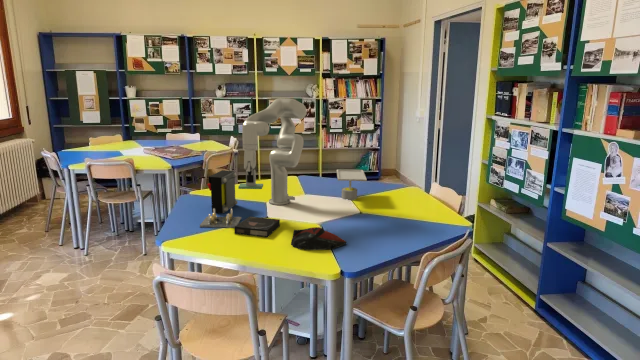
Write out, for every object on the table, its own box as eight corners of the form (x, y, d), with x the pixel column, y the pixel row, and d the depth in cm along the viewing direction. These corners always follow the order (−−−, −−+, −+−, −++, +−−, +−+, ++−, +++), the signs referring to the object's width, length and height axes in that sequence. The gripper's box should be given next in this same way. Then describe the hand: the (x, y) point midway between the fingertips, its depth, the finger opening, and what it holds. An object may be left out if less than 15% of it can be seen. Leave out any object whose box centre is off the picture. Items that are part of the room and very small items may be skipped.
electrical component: (226, 213, 235) (224, 177, 230) (208, 212, 237) (207, 176, 232) (238, 204, 252) (237, 171, 247) (222, 203, 254) (220, 170, 249)
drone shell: (285, 245, 192) (285, 228, 190) (312, 233, 207) (312, 218, 205) (323, 257, 179) (323, 239, 178) (349, 244, 195) (349, 227, 193)
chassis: (241, 218, 227) (241, 207, 225) (236, 227, 213) (235, 216, 212) (207, 218, 227) (206, 207, 225) (199, 227, 213) (199, 215, 212)
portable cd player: (234, 235, 204) (234, 227, 204) (249, 223, 221) (249, 216, 220) (266, 238, 200) (266, 230, 199) (279, 227, 216) (279, 219, 215)
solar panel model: (365, 204, 257) (366, 179, 254) (336, 203, 257) (337, 178, 254) (362, 192, 284) (362, 169, 281) (335, 191, 284) (336, 169, 281)
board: (263, 185, 231) (263, 169, 229) (261, 189, 224) (261, 171, 222) (240, 185, 231) (240, 168, 229) (238, 188, 224) (237, 171, 222)
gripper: (245, 144, 231) (246, 177, 235) (240, 149, 215) (241, 185, 219) (259, 144, 231) (260, 178, 235) (255, 149, 215) (255, 185, 219)
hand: (250, 181), depth 227 cm, fingers closed on board, 3 cm apart
